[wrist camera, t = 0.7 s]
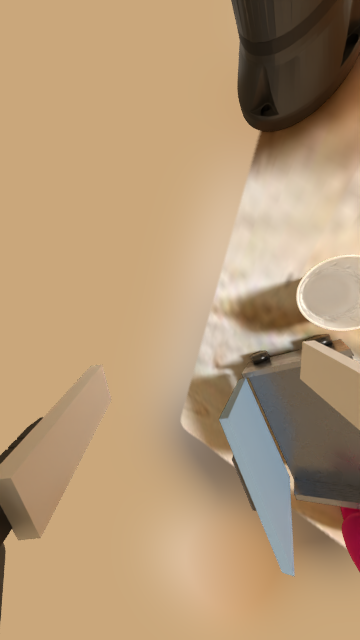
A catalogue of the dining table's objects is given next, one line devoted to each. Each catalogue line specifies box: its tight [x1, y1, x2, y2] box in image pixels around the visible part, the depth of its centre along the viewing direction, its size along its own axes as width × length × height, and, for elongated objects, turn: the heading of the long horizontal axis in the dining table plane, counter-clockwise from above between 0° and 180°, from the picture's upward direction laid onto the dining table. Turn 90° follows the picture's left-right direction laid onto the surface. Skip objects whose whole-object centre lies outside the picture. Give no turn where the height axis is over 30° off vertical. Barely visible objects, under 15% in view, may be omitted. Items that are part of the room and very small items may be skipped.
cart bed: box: [242, 334, 360, 509], centre depth 27 cm, size 22×14×6 cm, turn 26°
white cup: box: [296, 255, 360, 331], centre depth 23 cm, size 8×8×10 cm
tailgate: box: [219, 378, 294, 576], centre depth 25 cm, size 17×2×12 cm, turn 26°
